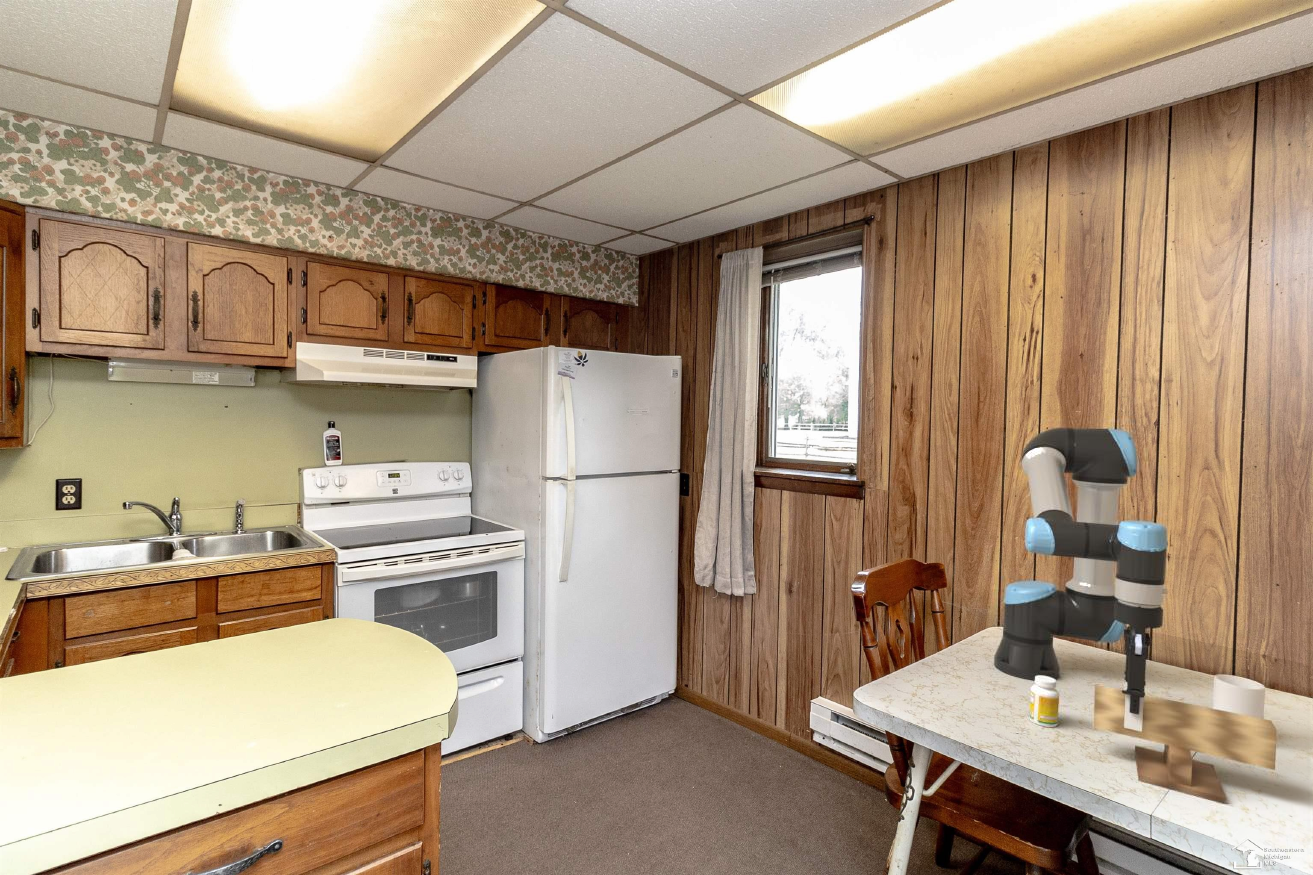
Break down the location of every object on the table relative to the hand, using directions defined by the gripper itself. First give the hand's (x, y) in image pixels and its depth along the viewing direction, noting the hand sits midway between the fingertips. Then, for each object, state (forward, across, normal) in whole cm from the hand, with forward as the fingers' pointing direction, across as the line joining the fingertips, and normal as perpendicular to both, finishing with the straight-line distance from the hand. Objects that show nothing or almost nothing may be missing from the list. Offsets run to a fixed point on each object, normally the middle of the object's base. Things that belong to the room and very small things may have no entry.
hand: (1132, 723), depth 126 cm
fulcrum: (+8, 0, -7) cm, 10 cm away
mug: (+8, +30, -19) cm, 36 cm away
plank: (+2, 0, -7) cm, 7 cm away
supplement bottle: (+8, +10, +15) cm, 20 cm away
